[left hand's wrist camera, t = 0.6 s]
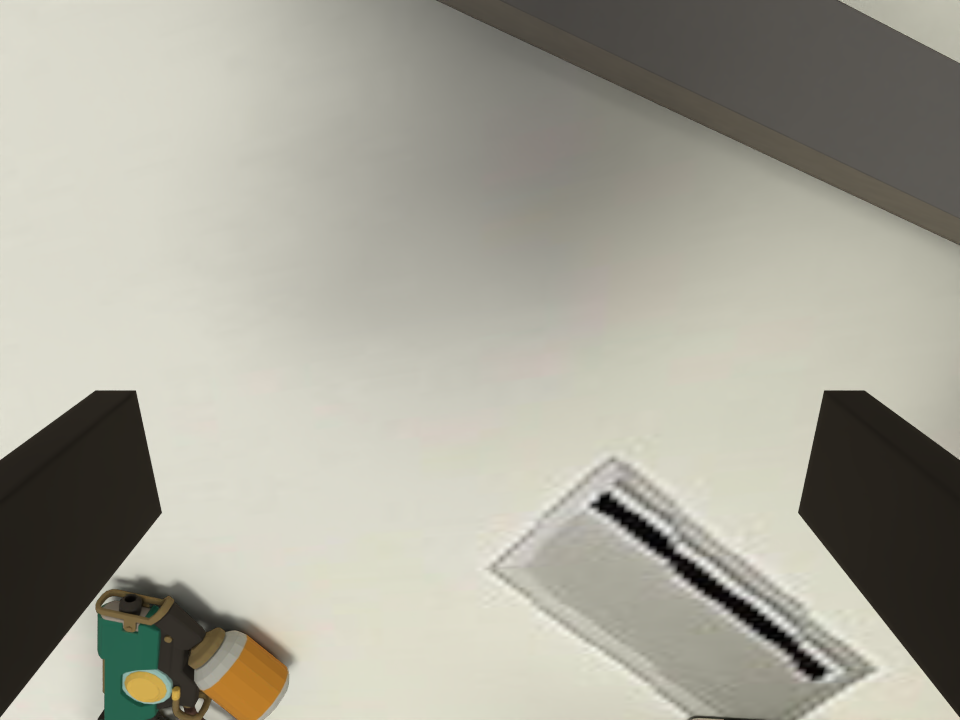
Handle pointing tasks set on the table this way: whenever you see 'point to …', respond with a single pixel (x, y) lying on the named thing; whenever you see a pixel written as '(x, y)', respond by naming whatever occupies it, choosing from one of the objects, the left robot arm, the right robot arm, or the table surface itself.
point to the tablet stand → (705, 719)
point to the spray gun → (180, 663)
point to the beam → (776, 85)
